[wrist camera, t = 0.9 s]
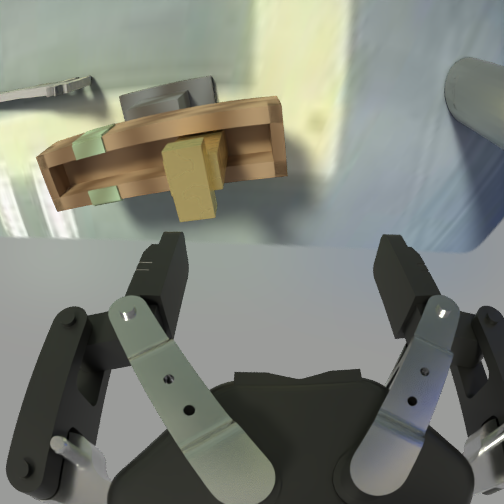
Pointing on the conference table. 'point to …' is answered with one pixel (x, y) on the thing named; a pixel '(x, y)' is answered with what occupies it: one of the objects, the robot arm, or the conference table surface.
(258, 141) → the beam
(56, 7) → the conference table surface
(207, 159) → the block
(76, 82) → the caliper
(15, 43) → the conference table surface
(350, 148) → the conference table surface
